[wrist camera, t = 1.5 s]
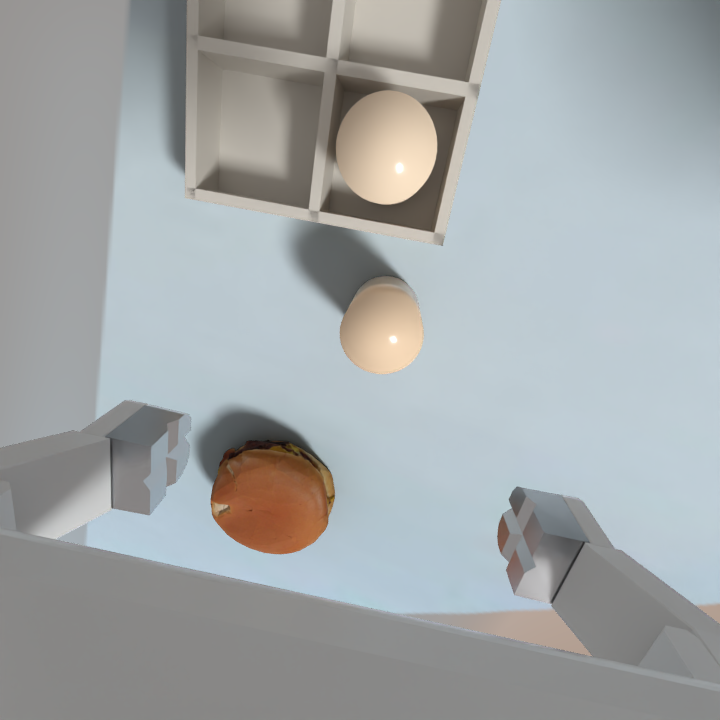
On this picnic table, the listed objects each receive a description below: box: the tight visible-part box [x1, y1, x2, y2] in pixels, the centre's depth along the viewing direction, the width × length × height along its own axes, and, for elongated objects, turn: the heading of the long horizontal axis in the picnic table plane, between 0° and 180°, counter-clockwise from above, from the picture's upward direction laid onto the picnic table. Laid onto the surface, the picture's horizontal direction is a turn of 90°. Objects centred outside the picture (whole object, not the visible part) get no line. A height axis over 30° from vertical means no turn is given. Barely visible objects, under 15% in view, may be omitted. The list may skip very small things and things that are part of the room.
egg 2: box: [340, 276, 424, 374], centre depth 25 cm, size 5×5×6 cm
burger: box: [211, 440, 335, 554], centre depth 32 cm, size 10×9×5 cm
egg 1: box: [336, 90, 437, 205], centre depth 21 cm, size 5×5×6 cm
